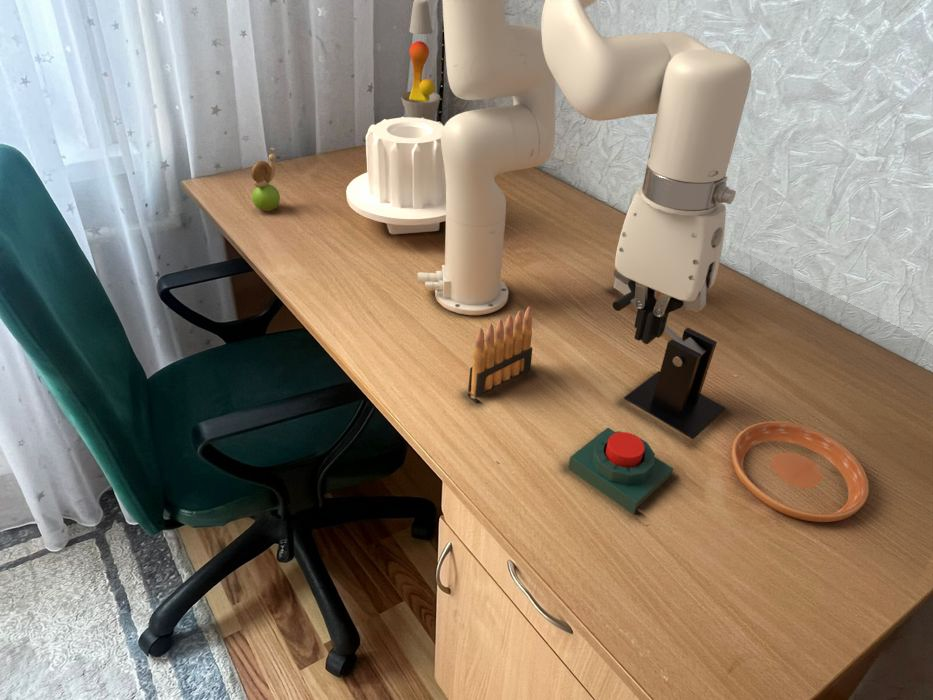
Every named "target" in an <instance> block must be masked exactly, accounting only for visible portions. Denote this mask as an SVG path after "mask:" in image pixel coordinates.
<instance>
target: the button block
mask: <svg viewBox="0 0 933 700" xmlns="http://www.w3.org/2000/svg"><path fill="white" fill-rule="evenodd" d="M618 432H621V431H619V430H618V431H617V430H615V431H614V430H613V429H611V428H610V427H606V428H605V429H604V430H603V431H601V432H600V433H599V434H597V435H596V436H595V437H594V438H592V439H591V440H589V442H587V443H586V444H585V445H584V446H582V447H581V448H579V450H577V451H576V452H575V453H573V454H572V455H570V457H569V462H568V466H567V469H568V470H569V471H571V472H572V474H575V475H576V476H577V477H579V478H580V479H582V480H583V481H585V482H586V483H587V484H589V485H590V486H592V487H593V488H594V489H596V490H597V491H599V492H601V493H602V494H603V495H605V496H606V497H608V498H609V499H610V500H612V501H613V502H615V503H616V504H618V506H620V507H622V508H624V509H625V510H626V511H628V512H629V513H631V514H632V515H635V514H636V513H637V512H639V510H638V509H637V508H638V507H639V506H641V505H642V503H644V502H645V501H646V500H647V499H649V498H650V496H651V495H653V494H654V493H655V491H656V490H657V489H659V488H660V487H661V486H662V485H663V484H664V483H665V482H666V481H668V479H669V478H670V477H672V475H673V472H674V468H673V467H672V466H670V465H669V464H668V463H666V462H664V461H662V460H660V459H659V458H657V457H655V456H656V453H655V452H654V451H653V448H651V447H652V446H650V444H649V443H648V441H646V440H644V439H642V438H641V437H639V436H637V435H636V434H633V433H632V434H633V435H635V436H637V437H638V438H639V439H641V441H642V442H643V444H644V453H643V456H642V460H641V462H640V463H639V464H638V465H637V466H635V467H631V468H626V467H621V466H617V465H615V464H614V463H612V462H611V461H610V460H609V459H608V458H607V456H606V448H607V443H608V439H609V437H610V436H611V435H613V434H615V433H618Z"/></svg>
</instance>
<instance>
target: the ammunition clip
mask: <svg viewBox="0 0 933 700" xmlns="http://www.w3.org/2000/svg"><path fill="white" fill-rule="evenodd" d="M532 323H533V312H532V307H531V306H529V305H528V306H527V308H526V310H525V313H524V316H523V314H522V311H521V310H518V312H517V313H516V315H515V319H514V320H513V316H512V315H511V314H509V315H508V317H507V318H506V321H505V324H504V322H503V319H501V318H500V319H498V321H497V324H496V327H495V329H494V325H493V323H489V325H488V327H487V328H486V331H485V332H486V334H485V333H484V330H483V328H482V327H480V328H479V330H478V331H477V333H476V337H475V345H474V350H473V354H472V355H473V356H472V366H471V367H470V368H469V377H468V388H467V397H468V398H469V399H471V400H472V401H473V402H474V403H479V402H480V400H479V399H478V397H481V396H482V395H484V394H486V393H488V392H491V391H492V390H494V389H496V388H497V387H500V386H501V385H503V384H505V383H508V382H509V381H512V380H514V379H516V378H517V377H519V376H521V375H523V374H525V373H526V372H528V371H530V370H531V368H532V360H533V359H532V358H533V347H532V346H531V345H532V336H533V330H532V329H533V328H532V327H533V324H532ZM504 325H505V326H504ZM473 395H474V396H473Z"/></svg>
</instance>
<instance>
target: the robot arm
mask: <svg viewBox="0 0 933 700" xmlns="http://www.w3.org/2000/svg"><path fill="white" fill-rule="evenodd" d="M597 1H598V0H544V3H543V7H542V12H541V20H540V27H538V26H537V25H534V24H527V23H525V24H523V23H522V24H510V25H509V24H508V25H507V23H506V13H505V6H506V5H505V3H506V2H505V0H442V1H441V2H442V18H443V19H442V21H443V33H444V49H445V51H444V52H445V65H446V66H445V67H446V75H447V81H448V85H449V89H450V90H451V92H452V94H453V95H454V96H455V97H457V98H458V99H461V100H465V101H481V100H482V101H483V100H491V99H492V100H493V99H500V98H508V97H512V101H513V102H512V103H513V105H512V104H511V105H505V106H494V107H486V108H479V109H473V110H467V111H464V112H460V113H458V114H456V115H454V116H452V117H450V118H449V119H448V120H447V121H446V122H445V123H444V125H443V126H444V127H443V130H442V133H441V148H442V155H443V161H444V168H445V177H446V221H445V242H444V264H442V265H441V270H436V271H435V272H429V271H428V272H427V271H426V272H423V271H422V272H417V284H418V285H419V284H420V285H422V284H423V285H424V290H425V291H433V290H434V296H435V299H436V301H437V303H439V304H440V305H441V306H442V307H443V308H445V309H446V310H448V311H450V312H453V313H456V314H460V315H463V316H464V315H465V316H467V315H468V316H482V315H487V314H488V315H489V314H493V313H494V312H496V311H498V310H500V309H502V308H503V307H504V306H505V305H506V304H507V303H508V300H509V289H508V287H507V285H506V284H505V282H504V281H502V280H501V276H502V268H503V267H502V265H503V253H504V242H505V241H504V239H505V228H506V215H507V200H506V197H505V194H504V192H503V190H502V189H501V188H500V187H499V185H498V184H497V183H496V180H495V178H496V177H497V176H498V175H502V174H506V173H510V172H516V171H520V170H526V169H531V168H536V167H538V166H541V165H543V164H544V163H546V162H547V160H548V161H549V159H550V157H551V156H552V154H553V151H554V146H555V140H556V139H555V138H556V84H557V85H558V87H559V89H560V91H561V92H562V94H563V95H564V97H565V99H566V100H567V101H568V103H569V104H570V105H571V107H572V108H573V109H574V110H575V111H576V112H577V113H578V114H580V115H581V116H583V117H585V118H587V119H589V120H592V121H599V122H602V121H612V120H617V119H624V118H630V117H637V116H642V115H646V116H647V115H656V117H655V122H654V127H653V132H652V137H651V141H650V148H649V152H648V158H647V164H646V167H645V168H646V169H645V173H644V179H643V183H642V185H641V186H639V188H637V190H636V192H635V194H634V196H633V198H632V199H631V200H632V201H631V203H630V205H629V207H628V210H627V213H626V216H625V219H624V221H623V225H622V227H621V231H620V235H619V239H618V243H617V248H616V251H615V252H616V253H615V259H614V267H615V269H614V272H613V276H614V277H616V278H617V279H619V280H620V281H622V282H623V283H624V284H626V285H628V287H629V289H630V290H631V292H632V294H633V296H634V298H635V306H636V307H637V308H638V311H637V313H636V315H635V320H634V328H635V332H634V333H635V334H634V340H637V341H641V342H642V343H643V344H645V345H649V344H650V343H651V342H652V341H654V340H655V339H656V338H657V339H659V338H660V337H662V334H663V332H664V330H665V326H667V321H668V317H669V313H672V312H674V311H676V310H680V309H682V310H684V311H690V312H695V313H699V312H701V311H702V310H703V309H704V308H705V307H706V306H707V290H710V289H711V288H713V286H714V284H715V281H716V279H717V275H718V271H719V267H720V261H721V258H722V257H721V256H722V253H723V252H722V251H723V245H724V238H725V229H726V218H727V217H726V215H727V211H726V210H727V209H726V204H727V205H731V204H732V203H733V202H734V200H735V197H736V194H737V193H736V190H734V189H731V188H730V187H729V186H727V180H728V176H727V172H728V169H729V164H730V161H731V158H732V157H731V156H732V153H733V151H734V146H735V142H736V138H737V135H738V132H739V131H738V130H739V128H740V127H739V126H740V123H741V120H742V117H743V112H744V108H745V104H746V102H747V98H748V95H749V94H748V93H749V90H750V86H751V82H752V68H751V66H750V64H749V63H748V61H747V60H746V59H744V58H743V57H740V55H736V54H734V53H731V52H727V51H721V50H715V49H714V50H713V49H711V48H710V47H709V46H707V45H705V44H704V43H702V42H701V41H700V40H699V39H697V38H695V37H694V36H692V35H690V34H687V33H684V32H681V31H680V32H679V31H661V32H660V31H659V32H651V33H649V32H643V33H633V34H632V33H631V34H623V35H612V36H605V37H604V36H602V34H601V33H600V32H599V30H598V29H597V28H596V27H595V25H594V23H593V22H592V20H591V19H590V17H589V15H588V13H587V11H586V9H587V8H588V7H590V6H591V5H593V4H594V3H595V2H597ZM723 203H725V204H723ZM657 291H659V292H661V293H660V295H659V298H658V300H656V297H657Z"/></svg>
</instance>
